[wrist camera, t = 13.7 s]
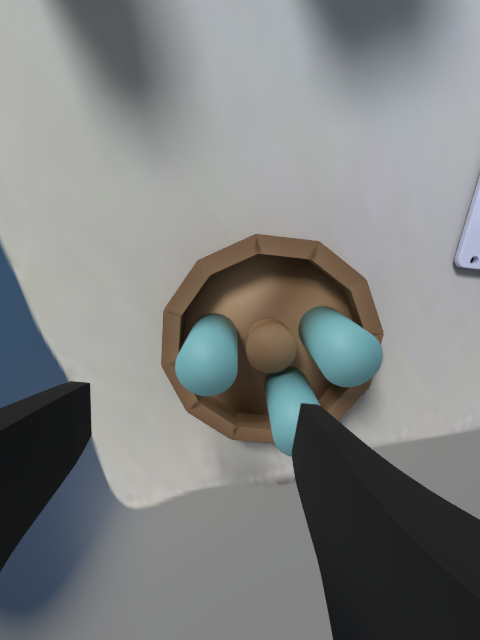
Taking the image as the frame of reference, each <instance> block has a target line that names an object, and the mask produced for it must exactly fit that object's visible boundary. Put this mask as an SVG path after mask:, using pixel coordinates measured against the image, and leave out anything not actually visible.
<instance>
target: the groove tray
mask: <svg viewBox="0 0 480 640" xmlns="http://www.w3.org/2000/svg"><path fill="white" fill-rule="evenodd" d="M318 306H328V307H331V308H334V309H335V310H337V311H338V312H340V313H341V314H343V315H344V316H346V317H347V318H348V319H350V320H351V321H353V322H354V323H356V324H357V325H359V326H360V327H362V328H363V329H365V330H366V331H368V332H369V333H371V334H372V335H373V336H374V337H375V338H376V339H377V340H378V341H379V343H380V345H381V342H382V338H383V330H382V326H381V323H380V320H379V317H378V314H377V311H376V308H375V305H374V301H373V298H372V295H371V292H370V289H369V286H368V283H367V280H365V278H364V277H363V276H362V275H360V274H359V273H358V272H357V271H355V270H354V269H353V268H352V267H350V266H349V265H348V264H347V263H346V262H344V261H343V260H342V259H341V258H339V257H338V256H337V255H336V254H334V253H333V252H332V251H331V250H329V249H328V248H327V247H326V246H324V245H323V244H322V243H321V242H319V241H312V240H303V239H295V238H286V237H277V236H269V235H260V234H256V235H252V236H250V237H248V238H246V239H244V240H241V241H239V242H237V243H235V244H233V245H230V246H228V247H226V248H224V249H222V250H219V251H217V252H215V253H213V254H211V255H209V256H206V257H204V258H202V259H200V260H198V261H197V262H196V263H195V265H194V266H193V268H192V269H191V271H190V272H189V274H188V275H187V277H186V278H185V280H184V281H183V282H182V284H181V285H180V287H179V288H178V290H177V291H176V293H175V294H174V296H173V297H172V299H171V300H170V301H169V303H168V304H167V306H166V307H165V309H164V311H163V335H162V358H161V365H162V368H163V370H164V372H165V374H166V375H167V377H168V379H169V381H170V383H171V384H172V386H173V388H174V390H175V392H176V393H177V395H178V397H179V399H180V401H181V402H182V404H183V406H184V408H185V410H186V411H188V413H189V414H191V415H193V416H194V417H196V418H197V419H199V420H201V421H202V422H204V423H206V424H207V425H209V426H210V427H212V428H214V429H215V430H217V431H218V432H220V433H222V434H223V435H225V436H227V437H228V438H230V439H231V438H232V439H233V440H244V441H255V442H267V443H274V440H273V435H272V429H271V424H270V419H269V413H268V408H267V402H266V397H265V391H264V382H265V379H266V377H267V376H268V374H269V373H277V372H280V371H282V370H284V369H286V368H287V367H288V366H292V367H295V368H298V369H299V370H301V371H302V372H303V373H304V375H305V376H306V378H307V380H308V382H309V384H310V386H311V388H312V390H313V392H314V394H315V396H316V398H317V400H318V402H319V404H320V406H321V407H322V408H324V409H325V410H326V411H327V412H328V413H330V414H331V415H332V416H333V417H334V418H335V419H337V420H339V419H340V418H341V417H342V416H343V415H344V414H345V413H346V411H347V410H348V409H349V408H350V407H351V406H352V405H353V404H354V403H355V402H356V401H357V400H358V399H359V398H360V397H361V395H362V394H363V393H364V392H365V391H366V390H367V389H368V388H369V387H370V386H369V385H371V381H372V378H371V379H370V380H368V381H367V382H365V383H363V384H361V385H358V386H355V387H341V386H337V385H335V384H333V383H331V382H330V381H329V380H327V379H326V377H325V376H324V375H323V373H322V372H321V370H320V369H319V367H318V366H317V364H316V362H315V361H314V359H313V358H312V356H311V355H310V353H309V352H308V350H307V349H306V347H305V346H304V344H303V343H302V341H301V339H300V337H299V334H298V326H299V322H300V320H301V318H302V317H303V315H304V314H305V313H306V312H307V311H309V310H310V309H312V308H315V307H318ZM210 313H218V314H222V315H225V316H227V317H228V318H229V319H231V320H232V321H233V323H234V324H235V326H236V328H237V332H238V371H237V376H236V379H235V381H234V382H233V384H232V385H231V386H230V387H229V388H228V389H227V390H226V391H224V392H223V393H221V394H218V395H214V396H200V395H196V394H194V393H192V392H190V391H188V390H187V389H186V388H185V387H183V385H182V384H181V383H180V382H179V380H178V378H177V375H176V371H175V362H176V358H177V356H178V354H179V352H180V350H181V348H182V346H183V344H184V343H185V341H186V339H187V337H188V335H189V333H190V331H191V330H192V328H193V326H194V324H195V322H196V321H197V320H198V319H199V318H201V317H202V316H204V315H206V314H210Z"/></svg>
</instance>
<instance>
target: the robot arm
mask: <svg viewBox="0 0 480 640" xmlns="http://www.w3.org/2000/svg"><path fill="white" fill-rule="evenodd" d="M472 257H473V258H474V261H473V262H472V263H470V260H471V258H472ZM454 262H455V265H456V266H458V267H462V268H471V269H479V270H480V176H479V179H478V183H477V186H476V189H475V193H474V196H473V199H472V203H471V206H470V209H469V213H468V216H467V219H466V223H465V226H464V229H463V233H462V236H461V239H460V243H459V246H458V249H457V253H456V256H455V261H454ZM90 437H91V401H90V383H84V382H73V381H71V382H68V383H64V384H61V385H59V386H56V387H53V388H50V389H48V390H46V391H43V392H40V393H38V394H35V395H33V396H30V397H28V398H25V399H22V400H20V401H18V402H15V403H12V404H10V405H7V406H5V407H2V408H0V571H1V570H2V568H3V566H4V565H5V563H6V562H7V560H8V558H9V557H10V555H11V553H12V552H13V551H14V549H15V548H16V546H17V545H18V543H19V542H20V540H21V539H22V537H23V536H24V534H25V533H26V532H27V530H28V529H29V528H30V526H31V525H32V523H33V522H34V521H35V519H36V518H37V516H38V515H39V514H40V513H41V511H42V510H43V508H44V507H45V506H46V504H47V503H48V502H49V500H50V499H51V498H52V496H53V495H54V493H55V492H56V491H57V489H58V488H59V486H60V485H61V484H62V482H63V481H64V480H65V478H66V477H67V475H68V474H69V473H70V471H71V470H72V469H73V467H74V466H75V464H76V463H77V461H78V459H79V457H80V456H81V454H82V452H83V450H84V449H85V447H86V445H87V443H88V441H89V439H90ZM292 460H293V467H294V473H295V479H296V484H297V488H298V492H299V495H300V499H301V502H302V506H303V510H304V513H305V517H306V520H307V524H308V527H309V531H310V534H311V538H312V542H313V545H314V549H315V552H316V555H317V559H318V564H319V568H320V572H321V577H322V582H323V587H324V592H325V598H326V602H327V608H328V613H329V618H330V624H331V630H332V635H333V640H480V520H479V519H477V518H476V517H474V516H472V515H471V514H469V513H467V512H465V511H464V510H462V509H460V508H458V507H457V506H455V505H453V504H452V503H450V502H448V501H446V500H445V499H443V498H442V497H440V496H438V495H437V494H435V493H433V492H432V491H430V490H428V489H427V488H426V487H424V486H423V485H421V484H420V483H418V482H417V481H415V480H413V479H412V478H411V477H409V476H408V475H406V474H405V473H403V472H402V471H400V470H399V469H398V468H396V467H394V466H393V465H392V464H391V463H389V462H388V461H387V460H385V459H384V458H383V457H381V456H380V455H379V454H378V453H376V452H375V451H374V450H372V449H371V448H370V447H369V446H367V445H366V444H365V443H364V442H362V441H361V440H360V439H359V438H358V437H356V436H355V435H354V434H353V433H352V432H350V431H349V430H348V429H347V428H346V427H345V426H343V425H342V424H341V423H340V422H339V421H338V420H337V419H335V418H334V417H333V416H332V415H331V414H330V413H328V412H327V411H326V410H325V409H324V408H322V407H321V406H320V405H317V404H307V403H301V405H300V410H299V416H298V421H297V426H296V432H295V437H294V442H293V448H292Z"/></svg>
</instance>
